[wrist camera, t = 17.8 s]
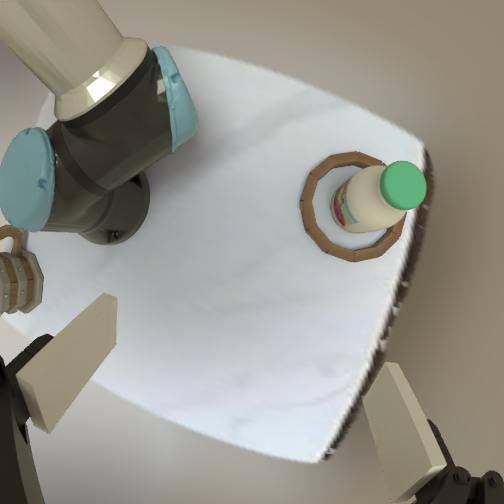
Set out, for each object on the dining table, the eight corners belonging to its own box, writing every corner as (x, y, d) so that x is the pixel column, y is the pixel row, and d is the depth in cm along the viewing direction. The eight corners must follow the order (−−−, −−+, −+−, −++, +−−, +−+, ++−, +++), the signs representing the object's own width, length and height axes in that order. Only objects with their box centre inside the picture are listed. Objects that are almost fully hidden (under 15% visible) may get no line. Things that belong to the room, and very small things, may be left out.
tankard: (40, 318, 49) (-10, 334, 34) (6, 298, 50) (-41, 307, 35) (52, 222, 49) (-3, 217, 34) (17, 210, 49) (-34, 204, 34)
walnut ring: (287, 239, 45) (287, 239, 43) (318, 142, 44) (320, 137, 42) (382, 273, 44) (388, 275, 42) (409, 179, 43) (415, 176, 41)
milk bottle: (383, 195, 44) (448, 166, 24) (367, 241, 44) (428, 239, 24) (339, 175, 44) (381, 130, 24) (322, 221, 45) (357, 205, 25)
